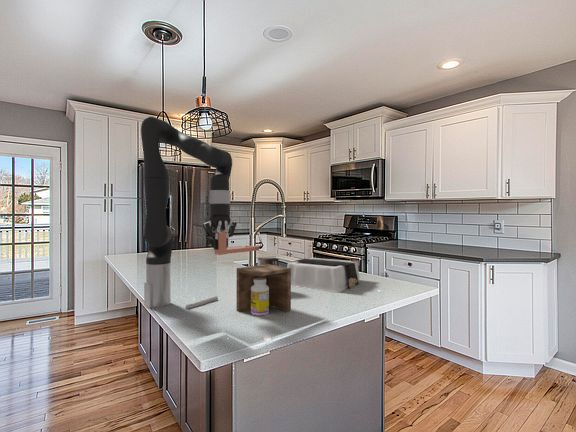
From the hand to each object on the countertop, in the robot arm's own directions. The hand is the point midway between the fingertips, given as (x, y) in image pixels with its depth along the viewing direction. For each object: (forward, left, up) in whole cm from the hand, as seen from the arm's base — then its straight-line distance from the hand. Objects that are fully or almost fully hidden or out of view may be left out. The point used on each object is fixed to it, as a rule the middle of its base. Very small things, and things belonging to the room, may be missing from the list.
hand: (220, 248), depth 122 cm
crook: (0, 0, -2) cm, 2 cm away
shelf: (+12, -10, -24) cm, 29 cm away
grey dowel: (0, +14, -22) cm, 26 cm away
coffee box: (+33, +12, -24) cm, 42 cm away
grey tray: (+64, +5, -24) cm, 69 cm away
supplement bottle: (+9, -12, -24) cm, 28 cm away
